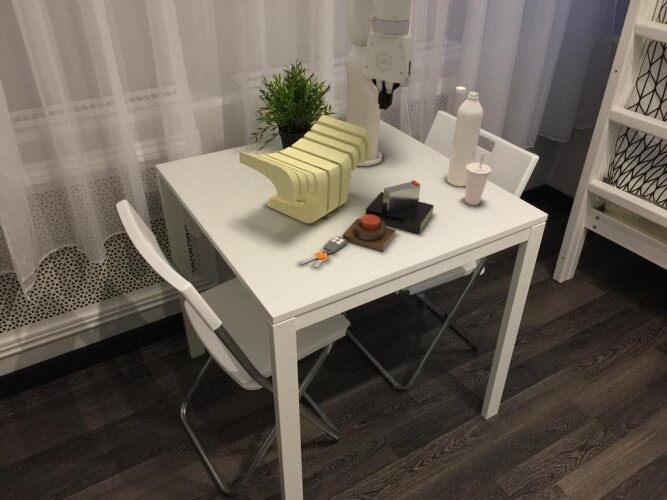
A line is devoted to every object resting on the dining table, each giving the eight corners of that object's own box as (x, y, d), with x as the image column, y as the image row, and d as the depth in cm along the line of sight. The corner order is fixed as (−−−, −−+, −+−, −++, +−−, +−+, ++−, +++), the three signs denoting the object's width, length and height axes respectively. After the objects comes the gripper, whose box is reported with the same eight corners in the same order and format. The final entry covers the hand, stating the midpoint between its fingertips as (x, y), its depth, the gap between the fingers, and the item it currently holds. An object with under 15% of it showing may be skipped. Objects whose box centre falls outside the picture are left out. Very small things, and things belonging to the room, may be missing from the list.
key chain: (334, 239, 136) (335, 233, 135) (348, 244, 134) (348, 239, 133) (300, 264, 127) (300, 259, 126) (314, 270, 125) (314, 265, 125)
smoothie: (470, 209, 150) (479, 159, 142) (454, 198, 154) (463, 149, 146) (489, 204, 152) (500, 154, 144) (474, 193, 157) (483, 144, 149)
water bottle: (475, 182, 162) (492, 94, 148) (459, 189, 159) (475, 98, 145) (451, 170, 168) (465, 84, 154) (435, 176, 164) (448, 88, 150)
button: (357, 228, 134) (357, 221, 133) (364, 219, 138) (365, 212, 137) (375, 233, 133) (375, 226, 132) (382, 224, 136) (383, 217, 135)
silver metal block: (387, 213, 141) (389, 191, 137) (381, 208, 142) (383, 187, 139) (418, 205, 144) (420, 183, 141) (412, 200, 146) (415, 179, 143)
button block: (342, 240, 136) (342, 227, 134) (356, 224, 142) (357, 211, 140) (382, 252, 132) (383, 238, 130) (395, 235, 138) (396, 222, 136)
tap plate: (364, 219, 144) (365, 209, 142) (380, 202, 151) (381, 191, 150) (419, 234, 139) (420, 223, 137) (432, 215, 146) (433, 205, 145)
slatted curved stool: (293, 242, 134) (293, 172, 124) (243, 219, 142) (239, 151, 132) (368, 194, 154) (373, 130, 144) (320, 176, 162) (322, 114, 152)
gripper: (353, 24, 127) (348, 106, 137) (418, 35, 122) (409, 119, 132) (366, 18, 133) (361, 97, 143) (430, 27, 127) (420, 108, 138)
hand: (384, 107), depth 137 cm, fingers closed
